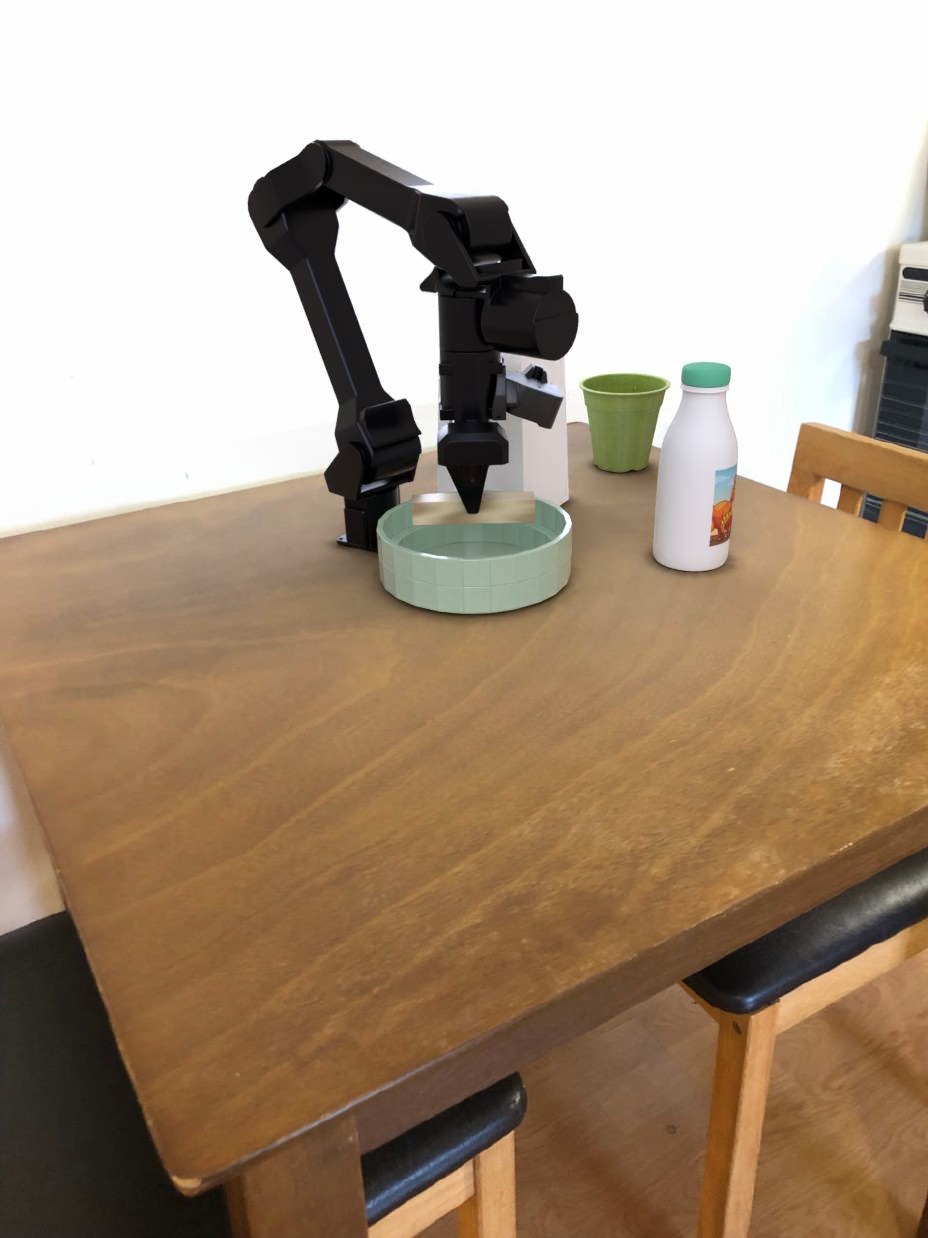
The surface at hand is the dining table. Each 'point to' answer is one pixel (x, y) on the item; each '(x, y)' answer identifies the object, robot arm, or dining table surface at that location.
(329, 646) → the dining table surface
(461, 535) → the bowl
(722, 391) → the milk bottle
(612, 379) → the plant pot
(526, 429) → the milk
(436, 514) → the stick
